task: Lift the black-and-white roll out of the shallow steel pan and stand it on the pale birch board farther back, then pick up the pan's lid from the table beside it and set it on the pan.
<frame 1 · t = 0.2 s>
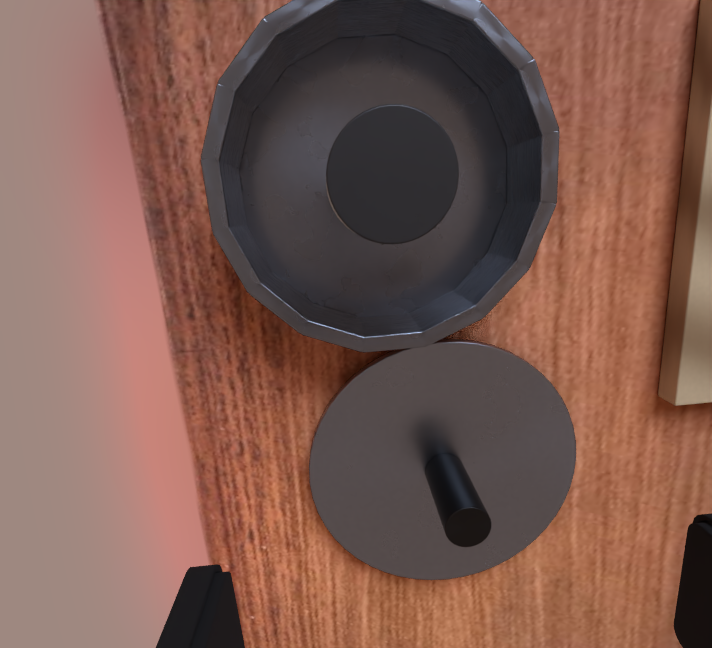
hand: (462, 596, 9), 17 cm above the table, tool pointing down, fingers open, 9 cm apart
pan: (374, 187, 23), on the table
roll: (375, 186, 23), resting on pan
lid: (441, 464, 27), point 1 cm above the table
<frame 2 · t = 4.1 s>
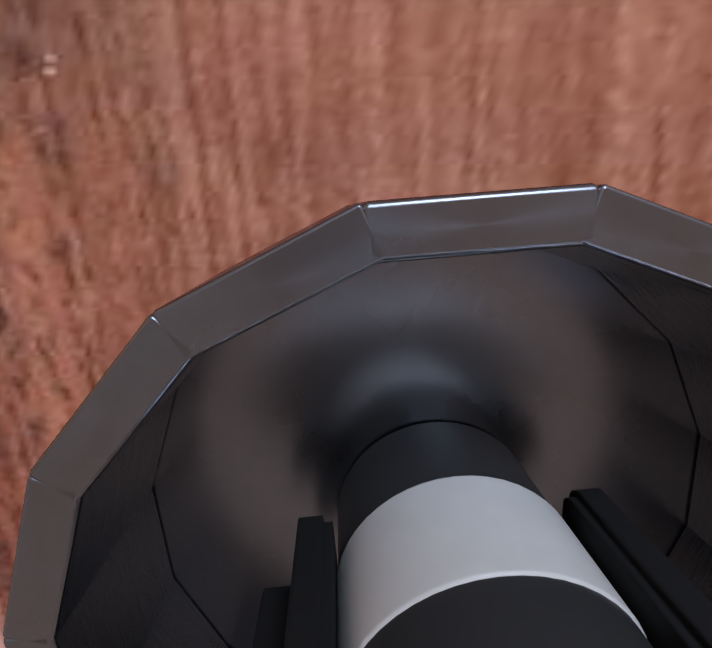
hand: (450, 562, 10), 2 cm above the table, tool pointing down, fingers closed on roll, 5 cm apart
pan: (428, 494, 12), on the table
roll: (432, 506, 11), point 1 cm above the table, touching gripper, pan
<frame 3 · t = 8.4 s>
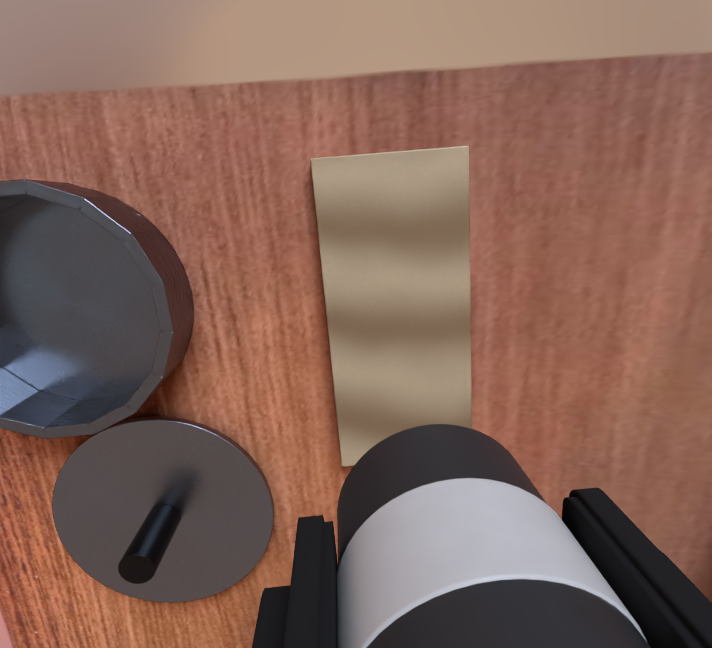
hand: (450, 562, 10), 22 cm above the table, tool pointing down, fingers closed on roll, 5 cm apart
pan: (78, 303, 30), on the table
roll: (432, 508, 11), point 21 cm above the table, touching gripper
lid: (167, 512, 34), point 1 cm above the table
board: (396, 316, 31), on the table
when the fingers open (3 cm above the table, at t = 13.0 s): roll stays where it is, resting on board.
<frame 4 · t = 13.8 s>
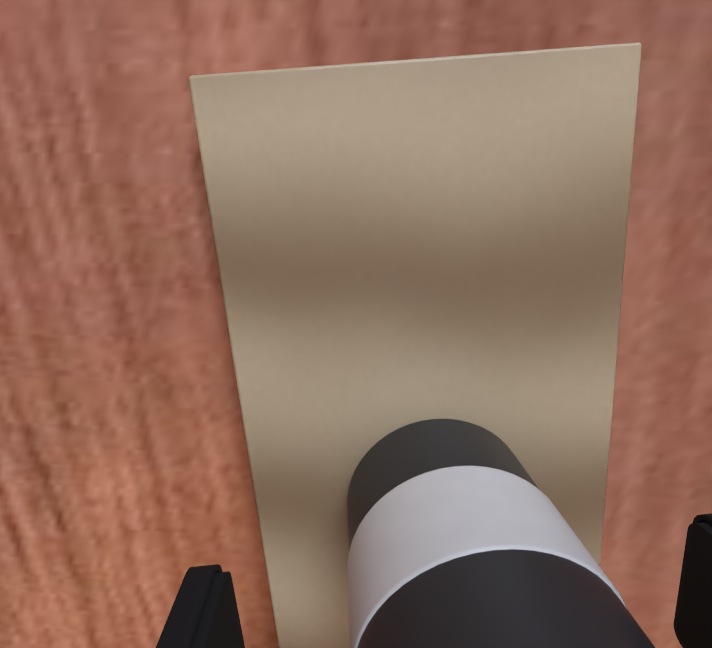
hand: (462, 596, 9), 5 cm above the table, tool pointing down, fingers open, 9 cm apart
roll: (435, 497, 12), point 1 cm above the table, touching board
board: (423, 464, 14), on the table
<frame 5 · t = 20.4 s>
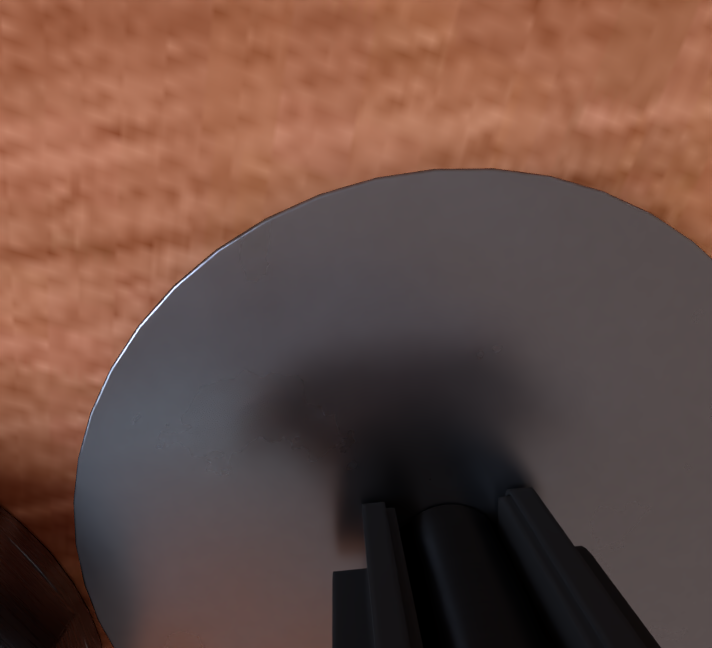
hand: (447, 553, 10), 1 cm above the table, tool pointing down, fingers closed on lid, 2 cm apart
lid: (440, 528, 11), point 1 cm above the table, touching gripper
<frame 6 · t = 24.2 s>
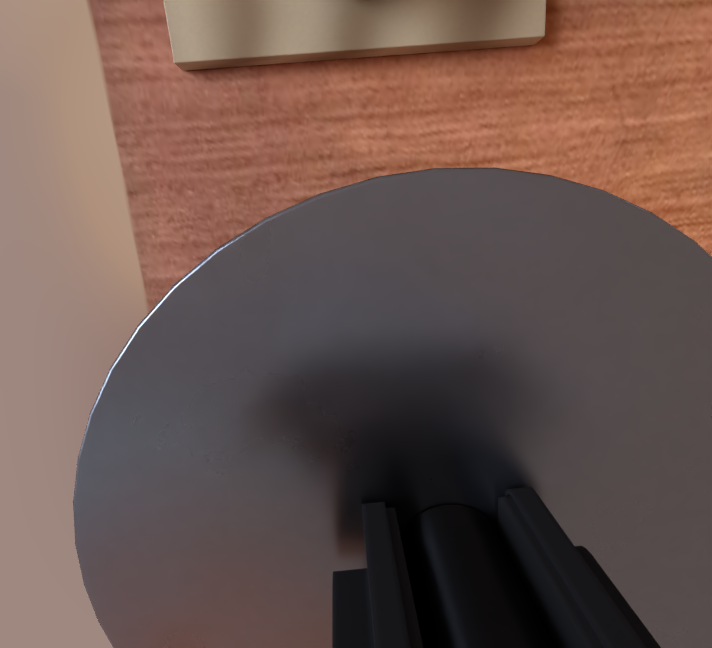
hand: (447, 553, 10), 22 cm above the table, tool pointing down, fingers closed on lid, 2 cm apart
lid: (440, 529, 11), point 21 cm above the table, touching gripper
when the fingers open (5 cm above the table, at t = 28.3 s): lid stays where it is, resting on pan.
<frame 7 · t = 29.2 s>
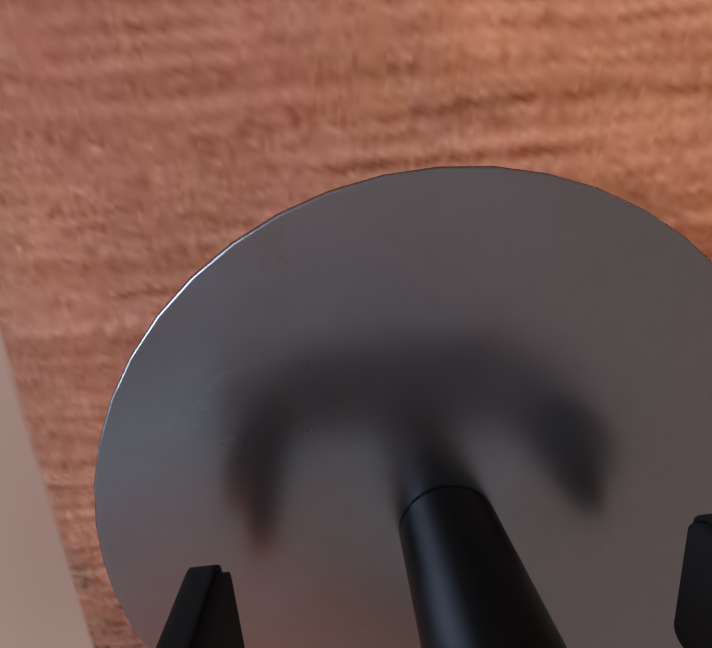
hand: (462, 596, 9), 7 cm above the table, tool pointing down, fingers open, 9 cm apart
lid: (442, 511, 11), point 4 cm above the table, touching pan
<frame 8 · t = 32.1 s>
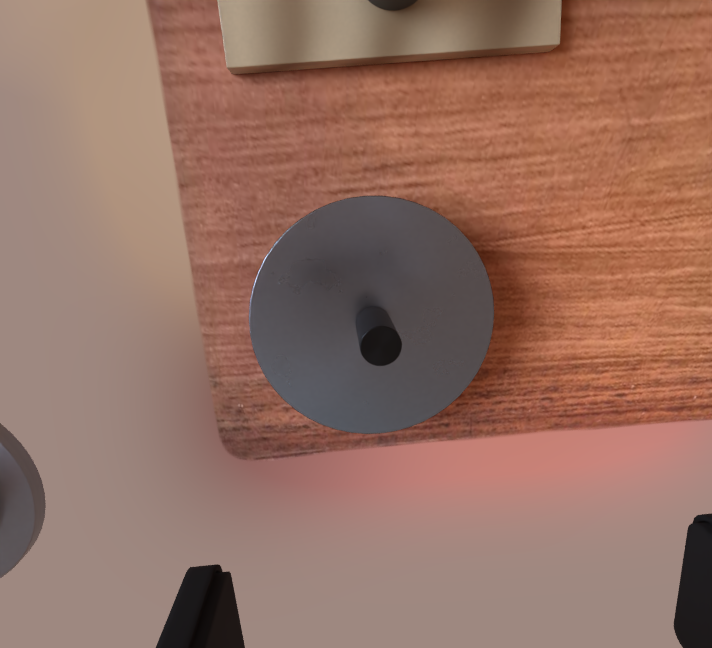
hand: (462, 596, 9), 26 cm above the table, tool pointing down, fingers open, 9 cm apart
lid: (372, 321, 30), point 4 cm above the table, touching pan
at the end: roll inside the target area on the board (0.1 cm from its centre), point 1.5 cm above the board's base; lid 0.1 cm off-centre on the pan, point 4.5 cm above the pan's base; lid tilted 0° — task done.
